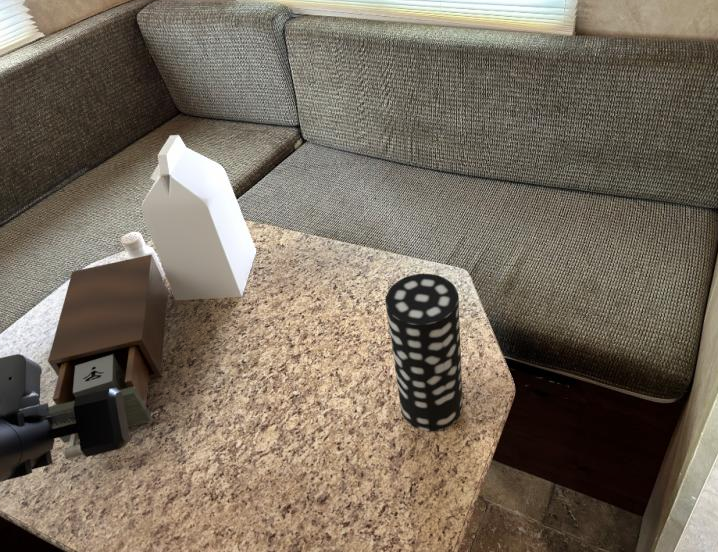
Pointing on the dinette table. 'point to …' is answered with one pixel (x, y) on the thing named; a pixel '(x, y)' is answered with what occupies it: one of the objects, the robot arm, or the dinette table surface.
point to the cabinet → (113, 313)
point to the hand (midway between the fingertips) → (64, 427)
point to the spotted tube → (426, 349)
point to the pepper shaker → (138, 248)
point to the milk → (197, 225)
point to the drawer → (133, 394)
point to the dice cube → (98, 376)
